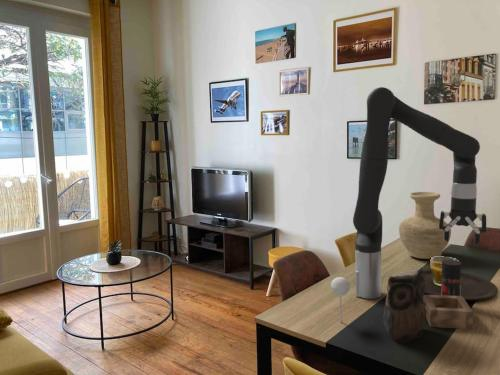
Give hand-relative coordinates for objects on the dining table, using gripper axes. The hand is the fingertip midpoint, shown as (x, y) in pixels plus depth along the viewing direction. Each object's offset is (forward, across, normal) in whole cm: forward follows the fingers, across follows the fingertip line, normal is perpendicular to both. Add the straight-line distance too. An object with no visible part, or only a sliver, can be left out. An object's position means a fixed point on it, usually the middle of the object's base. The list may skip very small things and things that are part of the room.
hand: (461, 242), depth 142 cm
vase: (+22, -14, +50) cm, 56 cm away
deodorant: (+22, -2, -3) cm, 22 cm away
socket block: (+21, -4, -16) cm, 27 cm away
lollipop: (+22, -34, -29) cm, 50 cm away
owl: (+22, -16, -28) cm, 39 cm away
